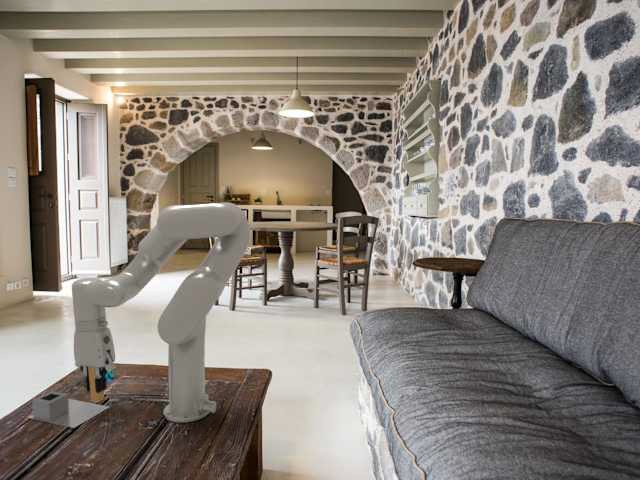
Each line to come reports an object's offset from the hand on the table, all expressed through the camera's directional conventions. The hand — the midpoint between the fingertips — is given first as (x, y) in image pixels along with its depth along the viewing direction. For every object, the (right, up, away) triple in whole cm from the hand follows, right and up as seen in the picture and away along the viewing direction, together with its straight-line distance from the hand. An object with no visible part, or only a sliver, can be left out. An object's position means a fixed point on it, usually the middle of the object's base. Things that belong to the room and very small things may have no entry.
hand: (96, 389), depth 122 cm
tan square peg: (0, -3, 0) cm, 3 cm away
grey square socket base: (-7, -7, -1) cm, 10 cm away
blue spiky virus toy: (-9, -5, +20) cm, 23 cm away
